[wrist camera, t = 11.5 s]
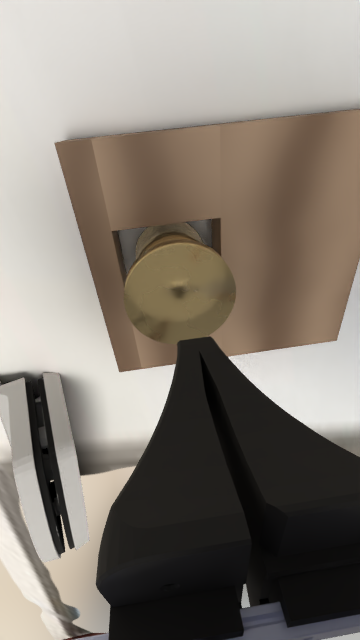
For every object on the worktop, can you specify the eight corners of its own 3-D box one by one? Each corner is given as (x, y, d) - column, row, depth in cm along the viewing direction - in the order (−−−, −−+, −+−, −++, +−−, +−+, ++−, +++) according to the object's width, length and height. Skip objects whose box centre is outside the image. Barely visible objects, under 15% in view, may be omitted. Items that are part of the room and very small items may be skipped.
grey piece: (-10, 371, 23) (-15, 496, 15) (55, 357, 25) (79, 462, 17) (27, 485, 32) (36, 597, 24) (73, 468, 34) (93, 567, 26)
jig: (367, 108, 16) (401, 105, 14) (319, 321, 24) (336, 340, 22) (66, 140, 15) (54, 142, 13) (121, 349, 23) (119, 372, 21)
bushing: (211, 207, 18) (240, 240, 13) (210, 287, 21) (232, 338, 16) (121, 214, 17) (114, 250, 12) (133, 294, 20) (132, 349, 15)
